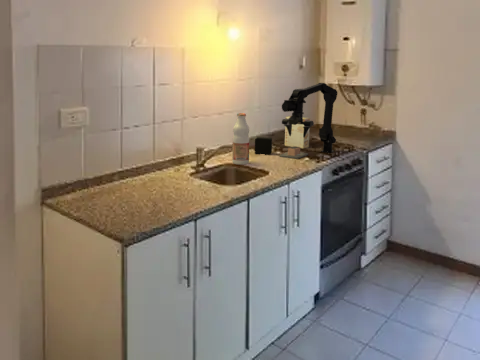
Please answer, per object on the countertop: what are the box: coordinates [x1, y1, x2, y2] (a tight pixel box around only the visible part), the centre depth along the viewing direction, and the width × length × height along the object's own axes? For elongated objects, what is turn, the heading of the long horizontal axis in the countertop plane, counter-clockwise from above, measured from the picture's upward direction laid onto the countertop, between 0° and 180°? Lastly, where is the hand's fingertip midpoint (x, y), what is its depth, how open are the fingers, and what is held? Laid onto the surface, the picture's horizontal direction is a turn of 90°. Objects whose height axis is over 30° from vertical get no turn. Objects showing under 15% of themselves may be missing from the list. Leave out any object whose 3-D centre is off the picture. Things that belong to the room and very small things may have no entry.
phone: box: [287, 146, 301, 156], centre depth 322 cm, size 8×4×4 cm, turn 149°
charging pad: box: [278, 151, 309, 160], centre depth 322 cm, size 15×12×1 cm
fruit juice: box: [231, 112, 250, 165], centre depth 297 cm, size 9×9×28 cm
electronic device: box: [254, 136, 273, 156], centre depth 325 cm, size 4×10×10 cm, turn 78°
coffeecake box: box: [284, 115, 311, 149], centre depth 350 cm, size 15×7×20 cm, turn 51°
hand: (297, 136), depth 320 cm, fingers open, 9 cm apart
